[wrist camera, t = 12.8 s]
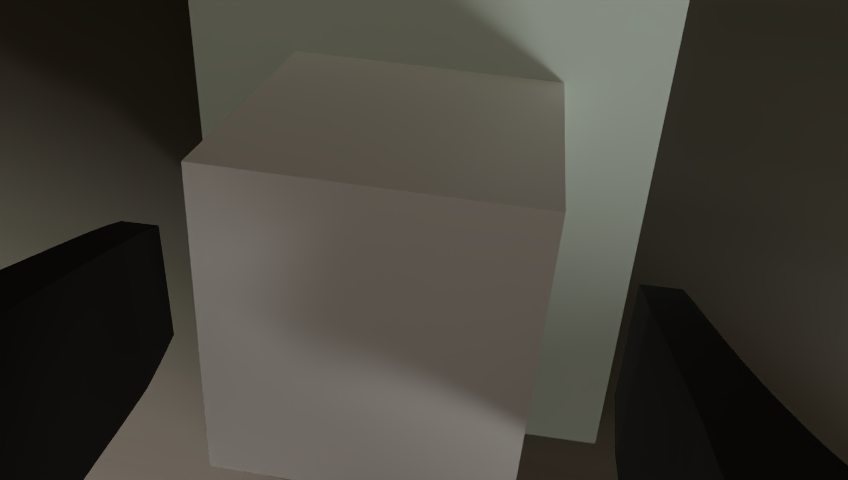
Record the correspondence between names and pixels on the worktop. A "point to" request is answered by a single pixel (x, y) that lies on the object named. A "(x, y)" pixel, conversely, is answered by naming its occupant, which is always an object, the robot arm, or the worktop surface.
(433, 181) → the plug
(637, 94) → the mat
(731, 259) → the worktop surface
